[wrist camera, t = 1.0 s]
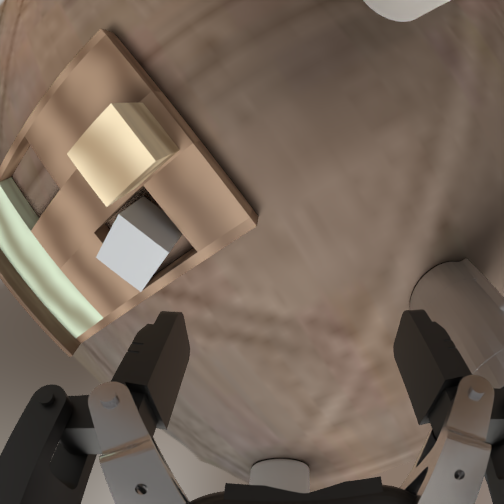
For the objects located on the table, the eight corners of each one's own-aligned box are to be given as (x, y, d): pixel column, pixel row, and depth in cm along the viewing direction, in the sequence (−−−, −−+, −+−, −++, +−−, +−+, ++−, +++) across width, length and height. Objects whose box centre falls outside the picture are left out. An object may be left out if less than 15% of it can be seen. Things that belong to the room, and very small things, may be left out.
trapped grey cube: (143, 195, 29) (118, 214, 24) (186, 228, 30) (169, 252, 25) (120, 234, 31) (95, 257, 26) (159, 264, 32) (141, 292, 27)
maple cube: (142, 102, 22) (111, 103, 17) (179, 150, 24) (155, 160, 19) (101, 143, 24) (66, 154, 19) (136, 188, 26) (106, 207, 21)
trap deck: (113, 32, 21) (86, 23, 17) (258, 216, 29) (254, 237, 24) (-12, 212, 31) (-35, 225, 26) (85, 334, 39) (69, 357, 34)
